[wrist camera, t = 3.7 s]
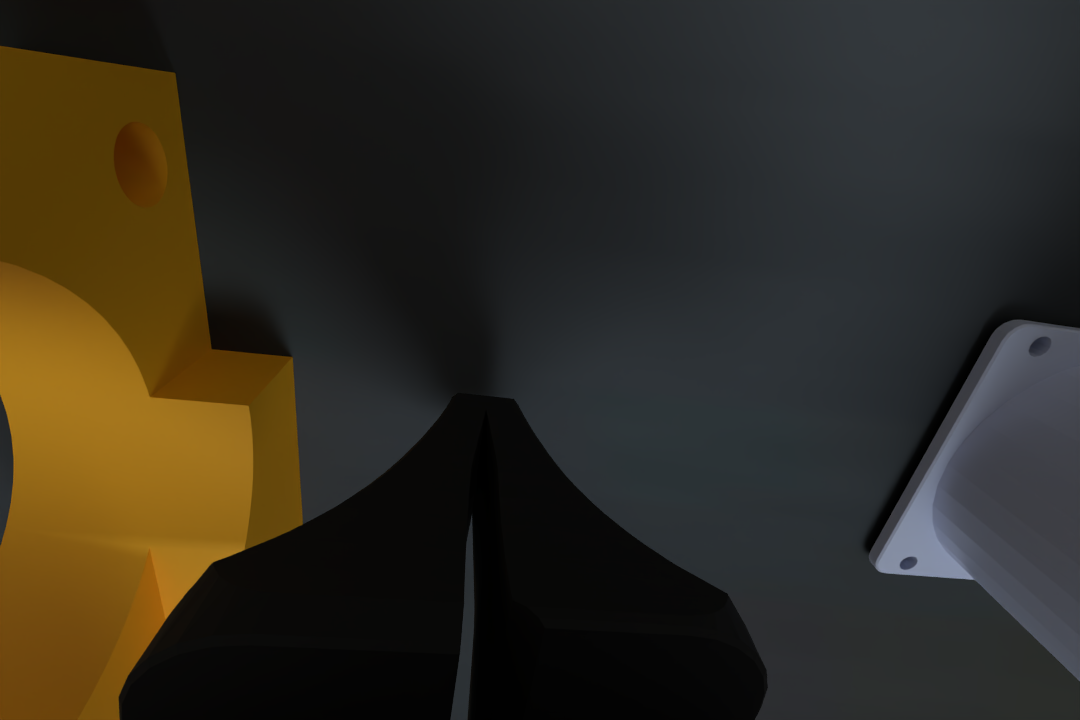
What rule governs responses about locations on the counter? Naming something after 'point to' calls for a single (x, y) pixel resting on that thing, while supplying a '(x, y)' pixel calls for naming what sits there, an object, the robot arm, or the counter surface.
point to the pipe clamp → (115, 387)
